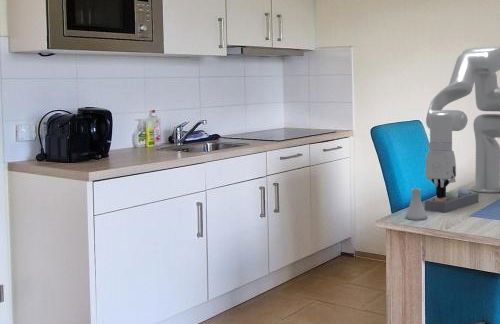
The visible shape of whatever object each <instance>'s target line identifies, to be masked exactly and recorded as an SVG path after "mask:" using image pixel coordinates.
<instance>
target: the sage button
mask: <svg viewBox="0 0 500 324" xmlns="http://www.w3.org/2000/svg"><path fill="white" fill-rule="evenodd" d="M446 194H447V197H448V198H458V192H457V191H446Z"/></svg>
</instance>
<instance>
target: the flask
mask: <svg viewBox="0 0 500 324" xmlns="http://www.w3.org/2000/svg"><path fill="white" fill-rule="evenodd" d="M410 191H411V200H410V202H409V206H408V208H407V212H406V214H405V218H406V219H407V220H413V221H415V220H416V221H418V220H419V221H420V220H427V218H428V215H427V213H426V210H425V207H424V206H423V202H422V198H421V191H422V189H421V188H411V190H410Z"/></svg>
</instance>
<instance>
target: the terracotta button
mask: <svg viewBox="0 0 500 324" xmlns="http://www.w3.org/2000/svg"><path fill="white" fill-rule="evenodd" d="M434 198H435V197H434ZM435 201H441V202H444V201H447V199H446V198H435Z"/></svg>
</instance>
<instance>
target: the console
mask: <svg viewBox="0 0 500 324" xmlns="http://www.w3.org/2000/svg"><path fill="white" fill-rule="evenodd" d="M456 192H458V190H457V191H456ZM479 193H480V192H474V191H473V192H471V191H469V194H468V195H461V194H458V198H448V197H447V193H446V195H445V197H444V198H446V199H447V201H444V202H441V201H435V198H437V196H436V197H432V198H429V199H425V200H424V210H425V211H429V210H430V211H431V212H436V211H437V213H443V212H444V213H445V212H446V213H449V212H453V211H455V210H458V208H459V209H462V208H465V207H468V206H471V205H474V204H478V203H479V195H480V194H479ZM448 211H449V212H448Z"/></svg>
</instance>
